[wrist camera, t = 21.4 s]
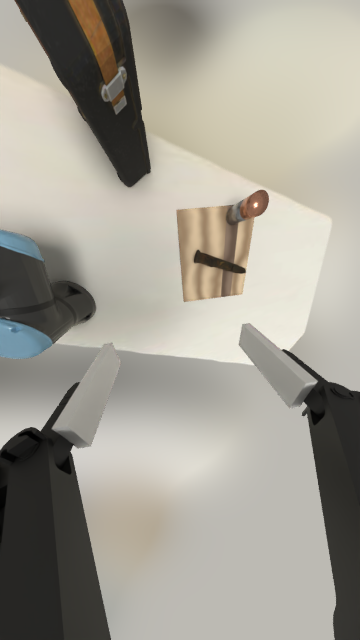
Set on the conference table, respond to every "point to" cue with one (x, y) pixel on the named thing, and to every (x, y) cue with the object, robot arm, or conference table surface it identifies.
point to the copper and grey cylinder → (248, 208)
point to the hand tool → (217, 263)
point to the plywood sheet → (212, 251)
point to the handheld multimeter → (96, 73)
